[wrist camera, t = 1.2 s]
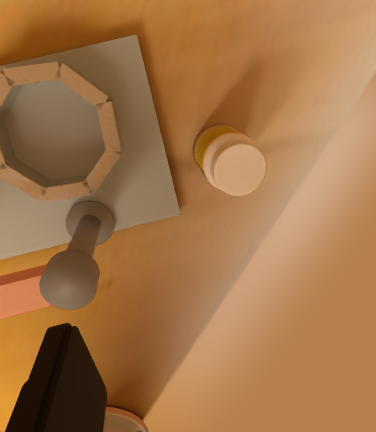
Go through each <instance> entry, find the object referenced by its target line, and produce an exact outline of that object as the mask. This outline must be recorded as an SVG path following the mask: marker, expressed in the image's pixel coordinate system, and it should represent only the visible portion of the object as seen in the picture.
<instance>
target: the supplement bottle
mask: <svg viewBox="0 0 376 432" xmlns="http://www.w3.org/2000/svg"><path fill="white" fill-rule="evenodd" d="M193 155H194V159H195V161H196V163H197V164H198V166H199V168H200V169H201V171H202V172H203V174H204V175H205V177H206V179H207V180H208V181H209V182H210V183H211V184H212V185H213V186H215V187H216V188H218V189H221V190H222V191H223V192H225V193H227V194H229V195H232V196H243V195H247V194H249V193H251V192H253V191H254V190H255V189H257V188H258V186H259V185H260V184H261V183H262V181H263V179H264V176H265V173H266V162H265V159H264V156H263V154H262V153H261V152H260V151H259V149H258V147H257V145H256V144H255V142H254V141H253V140H252V139H251V138H249V137H248V136H246V135H244V134H242V133H240V132H238V131H237V130H235V129H233V128H231V127H230V126H227V125H224V124H212V125H209V126H207V127H205V128H204V129H203V130H201V131H200V133H199V134H198V135H197V137H196V139H195V141H194V144H193Z"/></svg>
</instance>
